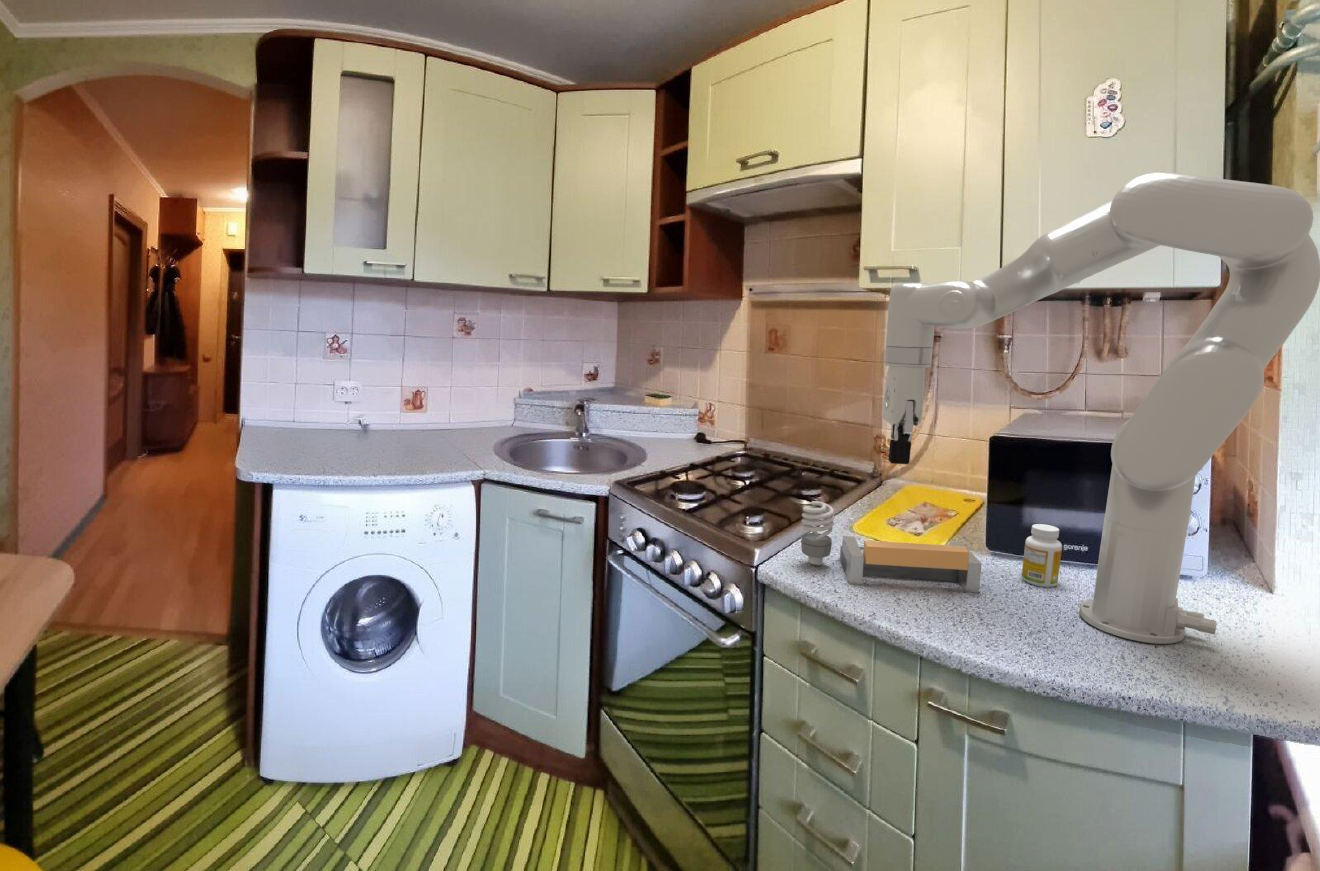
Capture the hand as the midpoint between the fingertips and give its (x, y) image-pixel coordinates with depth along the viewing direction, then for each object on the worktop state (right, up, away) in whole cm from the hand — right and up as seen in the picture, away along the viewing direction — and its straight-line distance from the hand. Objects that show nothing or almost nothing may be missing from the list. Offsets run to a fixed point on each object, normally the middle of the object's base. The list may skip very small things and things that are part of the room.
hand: (898, 462), depth 113 cm
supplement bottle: (+23, -21, -2) cm, 31 cm away
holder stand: (+1, -20, 0) cm, 20 cm away
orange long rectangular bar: (0, -17, -6) cm, 18 cm away
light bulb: (-14, -19, +4) cm, 24 cm away
